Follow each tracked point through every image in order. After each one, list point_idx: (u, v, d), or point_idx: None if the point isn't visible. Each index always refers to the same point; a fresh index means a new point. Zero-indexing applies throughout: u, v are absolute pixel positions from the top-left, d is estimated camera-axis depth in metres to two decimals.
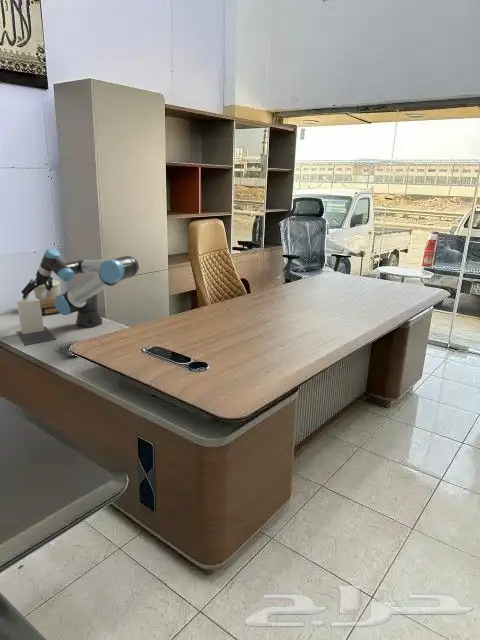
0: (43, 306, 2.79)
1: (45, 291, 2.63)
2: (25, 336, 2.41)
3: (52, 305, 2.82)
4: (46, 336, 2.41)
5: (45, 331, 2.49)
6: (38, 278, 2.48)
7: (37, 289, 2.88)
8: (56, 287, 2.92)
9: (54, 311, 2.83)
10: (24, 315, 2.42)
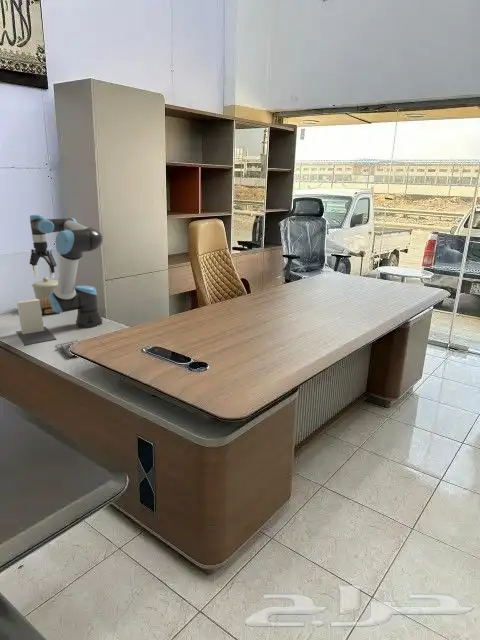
0: (43, 306, 2.79)
1: None
2: (25, 336, 2.41)
3: None
4: (46, 336, 2.41)
5: (45, 331, 2.49)
6: None
7: (37, 289, 2.88)
8: None
9: None
10: (24, 315, 2.42)
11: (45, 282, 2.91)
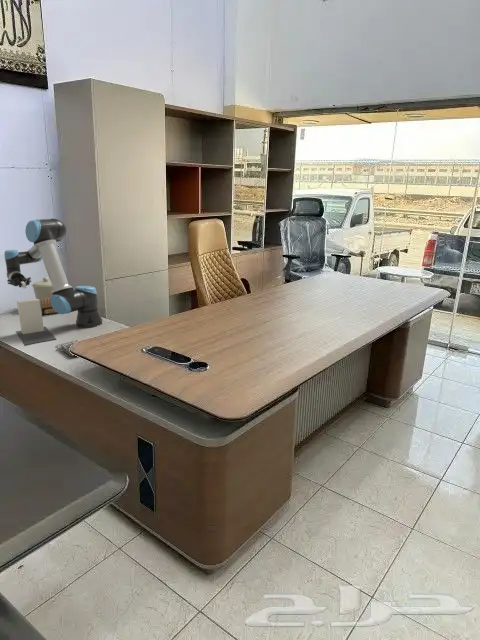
0: (43, 306, 2.79)
1: None
2: (25, 336, 2.41)
3: None
4: (46, 336, 2.41)
5: (45, 331, 2.49)
6: None
7: (37, 289, 2.88)
8: None
9: (54, 311, 2.83)
10: (24, 315, 2.42)
11: (45, 282, 2.91)
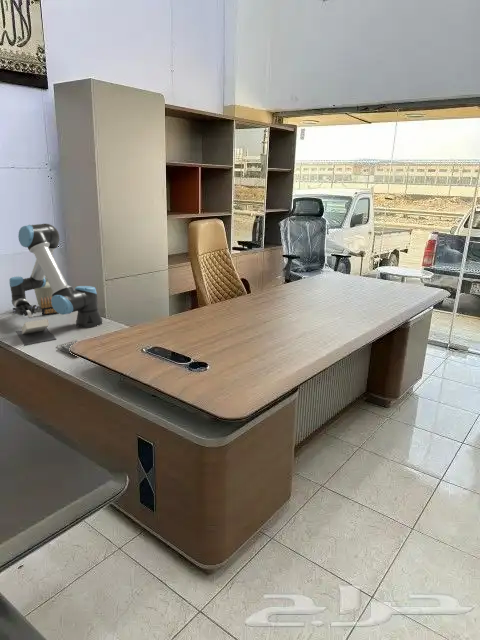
0: (43, 306, 2.79)
1: None
2: (25, 336, 2.41)
3: None
4: (46, 336, 2.41)
5: (45, 331, 2.49)
6: None
7: (38, 289, 2.87)
8: None
9: (54, 311, 2.83)
10: (29, 330, 2.37)
11: (46, 282, 2.90)
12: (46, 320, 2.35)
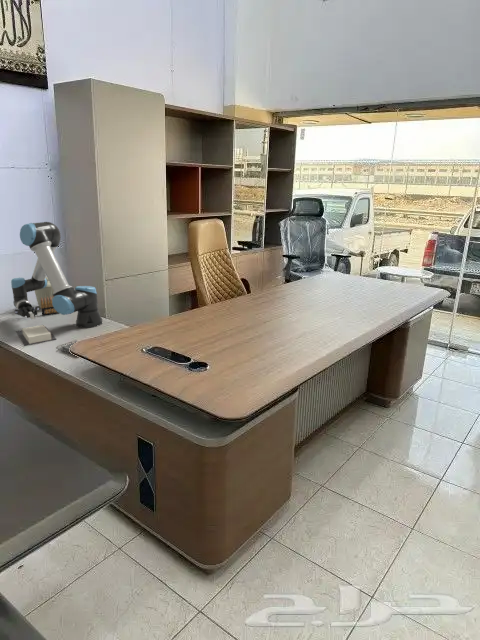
0: (43, 306, 2.79)
1: None
2: None
3: (52, 305, 2.82)
4: None
5: None
6: None
7: None
8: None
9: (54, 311, 2.83)
10: None
11: None
12: (49, 335, 2.35)
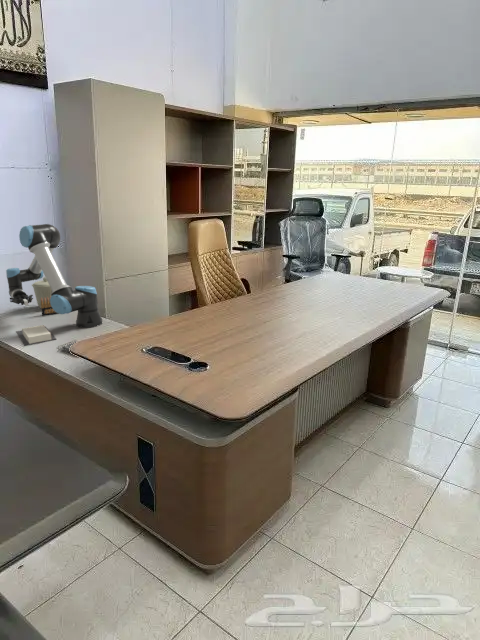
0: (43, 306, 2.79)
1: None
2: None
3: None
4: None
5: None
6: None
7: (37, 289, 2.88)
8: None
9: (54, 311, 2.83)
10: None
11: (45, 282, 2.91)
12: (49, 335, 2.35)
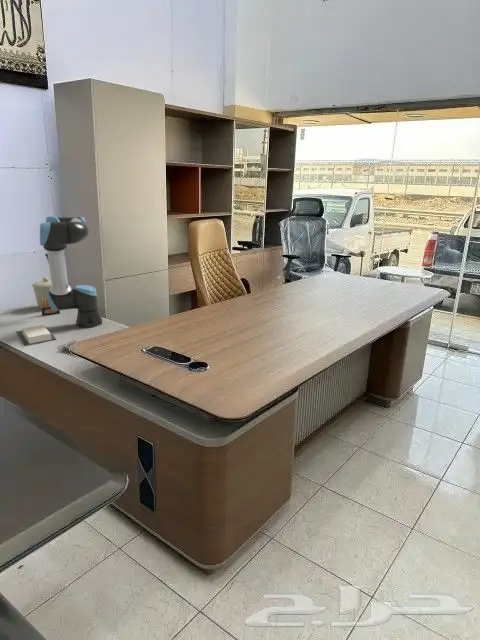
0: (43, 306, 2.79)
1: None
2: None
3: None
4: None
5: None
6: None
7: (37, 289, 2.88)
8: None
9: (54, 311, 2.83)
10: None
11: (45, 282, 2.91)
12: (49, 335, 2.35)
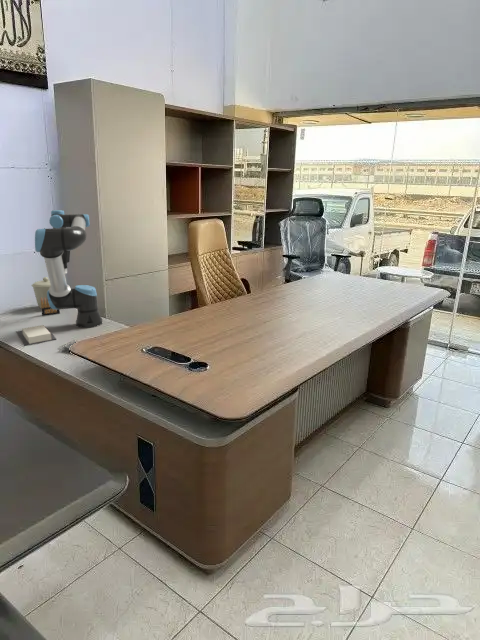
0: (43, 306, 2.79)
1: None
2: None
3: None
4: None
5: None
6: None
7: (37, 289, 2.88)
8: None
9: (54, 311, 2.83)
10: None
11: (45, 282, 2.91)
12: (49, 335, 2.35)
